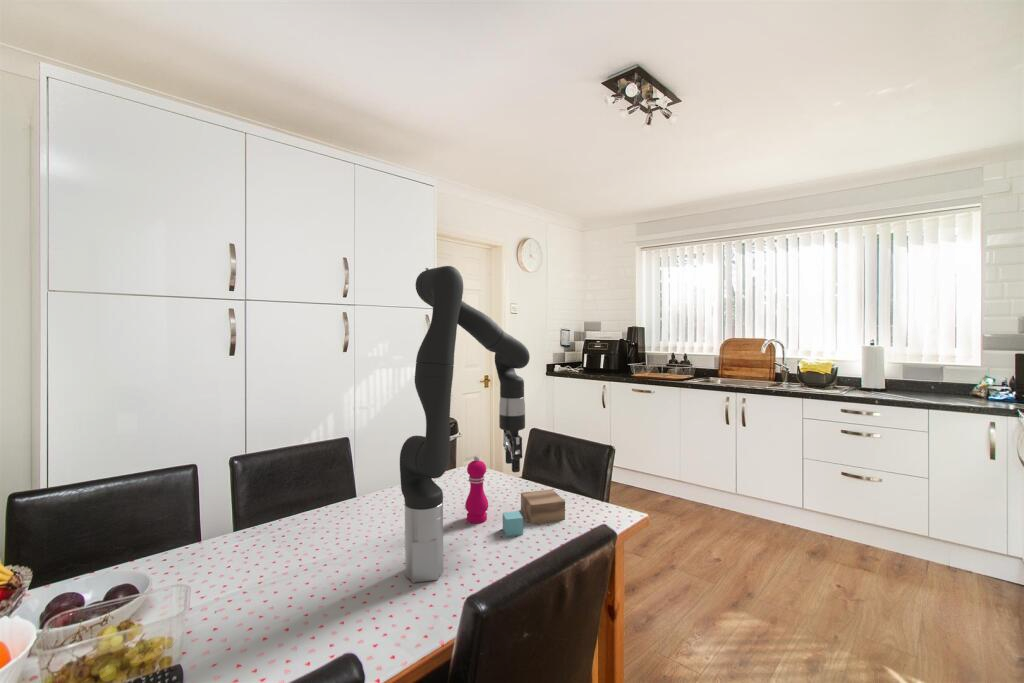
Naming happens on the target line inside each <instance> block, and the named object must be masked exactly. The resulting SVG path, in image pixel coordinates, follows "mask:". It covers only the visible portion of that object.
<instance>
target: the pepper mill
mask: <svg viewBox="0 0 1024 683" xmlns="http://www.w3.org/2000/svg"><path fill="white" fill-rule="evenodd" d="M466 472H467V474H468V482H469V484H470V486H469V487H470V490H469V493H468V496H467V497H466V500H465V506H464V508H465V510H466V512H467V513H466V521H467V522H469V523H470V524H482V523H484V522H487V520H488V514H487V513H488V512H487V510H488V509H489V500H488V498H487V495H486V493H485V491H484V482H485V480H486V479H485V478H486V476H485V474H486V473H487V465H486V464H485V462H483V461H482V460H480V457H479V455H475V456H474V457H473V460H472V461H471V462H469V463H468V465H467V466H466Z"/></svg>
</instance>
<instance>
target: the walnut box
mask: <svg viewBox="0 0 1024 683" xmlns="http://www.w3.org/2000/svg"><path fill="white" fill-rule="evenodd" d="M521 510H522V511H521ZM520 511H521V512H522V514H523V515H524V514H525V515H526V516H525V515H524V516H525V517H526V518H527V519H528V521H529V522H530V523H531V524H540V523H547V522H548V523H549V522H556V521H564V520H566V501H565V499H563V498H562V496H560V495H559V494H558V492H556V491H554V490H553V489H542V490H533V491H524V492H520Z"/></svg>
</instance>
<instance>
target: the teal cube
mask: <svg viewBox="0 0 1024 683" xmlns="http://www.w3.org/2000/svg"><path fill="white" fill-rule="evenodd" d="M502 530H504V531H503V532H504V535H505V537H512V536H514V537H515V536H523V535H524V517H523V515H522V514H521V512H520V511H519V510H517V511H508V512H502Z"/></svg>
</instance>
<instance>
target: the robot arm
mask: <svg viewBox="0 0 1024 683" xmlns="http://www.w3.org/2000/svg"><path fill="white" fill-rule="evenodd" d="M414 286H415V291H416V294H417V296H418V297H419V298H420V300H422V301H423V302H424V303H425V304H427V305H428V306H429V307H432V313H431V315H432V316H431V321H430V324H429V327H428V330H427V332H426V334H425V336H424V338H423V340H422V342H421V344H420V346H419V348H418V351H417V354H416V359H415V360H416V361H415V371H414V386H415V389H416V393H417V395H418V397H419V401H420V404H421V406H422V408H423V412H424V416H425V436H423V435H411V436H409V437H407V439H406V440H405V441H404V443H403V444H402V446H401V450H400V452H399V476H400V489H401V490H400V491H401V494H402V495H403V498H404V560H405V562H404V563H405V564H404V566H405V576H406V577H407V579H409V580H411V583H413V584H415V583H423V582H429V581H430V582H431V581H438V580H439V577H440V576H441V575H442V574H443V573H444V492H443V490H442V487H441V486H439V485H438V484H437V483H435V482H434V480H433V479H435V480H436V479H440V478H441V477H442V476H444V474H445V473H446V471H447V469H448V466H449V463H450V457H451V401H452V386H453V379H454V366H455V351H456V340H457V330H458V329H457V328H458V326H460V327H461V328H462V329H463V330H465V331H466V332H467V333H468V334H469V335H470V336H472V337H473V338H474V339H475V340H476V341H477V342H478V343H479V344H481V346H482V347H483V348H485V349H486V350H488V351H489V352H492V353H494V364H495V369H496V373H497V377H498V380H499V396H500V397H499V404H498V405H499V408H498V410H499V411H498V413H499V414H498V416H499V417H498V418H499V419H498V420H499V422H498V423H499V426H498V427H499V429H500V430H502V431H503V444H502V445H503V446H502V447H503V448H504V451H505V464H509V465H510V464H511V472H512V473H519V472H520V471H521V463H520V462H521V460H520V459H523V438H522V436H521V435H520V434H519V431H522V430H524V429H525V428H526V402H525V380H524V378H523V377H521V376H519V375H517V373H516V370H515V369H517V370H518V369H523V368H525V367H527V365H528V364H529V362H530V353H529V349H528V348H527V346H526V345H525V344H524V343H523V342H521V341H520V340H518V339H517V338H516V337H514V336H512V335H510V334H508V333H507V332H505V331H504V330H503V329H502V328H501V326H499V324H497V323H496V322H495V321H494V320H493V319H492V318H491V317H489V316H488V315H487V314H485V313H484V312H482V311H481V310H478V309H476V308H475V307H473V306H471V305H469V304H467V303H466V302H465V301H463V295H464V281H463V277H462V274H461V272H460V271H459V269H457V268H456V267H454V266H452V265H443V266H439V267H433V268H429V269H425V270H424V271H421V272H420V274H418V275H417V277H416V280H415V285H414Z"/></svg>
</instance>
